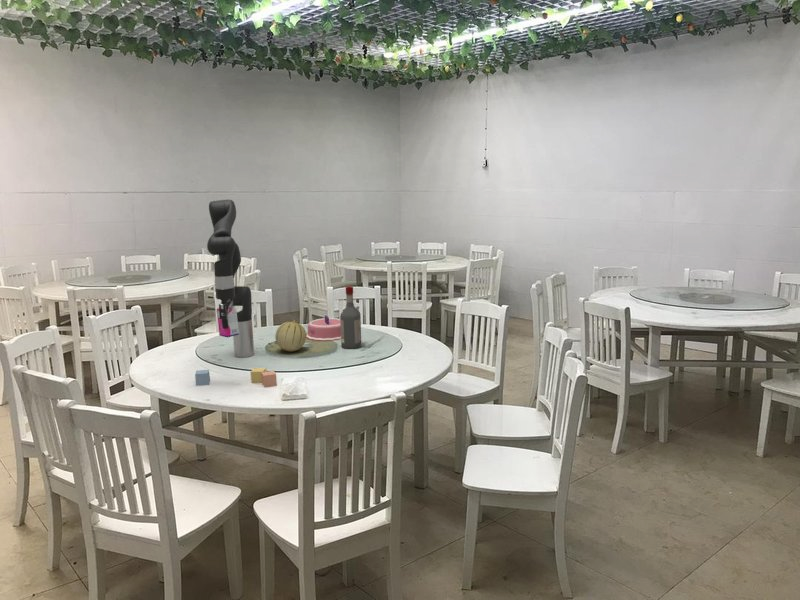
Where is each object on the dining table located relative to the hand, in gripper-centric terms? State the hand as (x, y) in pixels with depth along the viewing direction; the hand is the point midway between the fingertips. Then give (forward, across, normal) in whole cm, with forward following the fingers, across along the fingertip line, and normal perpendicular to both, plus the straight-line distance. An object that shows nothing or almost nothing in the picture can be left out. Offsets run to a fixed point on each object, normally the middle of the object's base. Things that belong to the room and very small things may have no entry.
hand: (227, 325), depth 245 cm
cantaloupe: (+24, -44, +19) cm, 54 cm away
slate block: (+24, 0, -12) cm, 27 cm away
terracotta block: (+24, +5, +16) cm, 29 cm away
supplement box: (+4, 0, 0) cm, 4 cm away
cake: (+25, -73, +35) cm, 84 cm away
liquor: (+24, -48, +48) cm, 72 cm away
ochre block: (+24, 0, +11) cm, 26 cm away
